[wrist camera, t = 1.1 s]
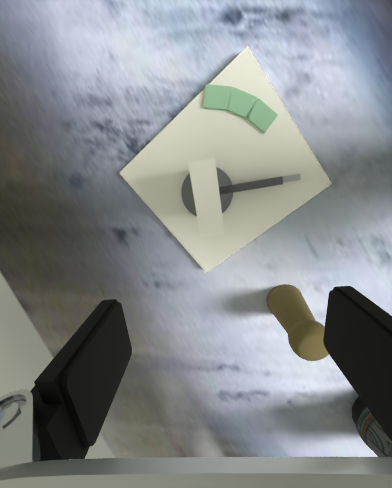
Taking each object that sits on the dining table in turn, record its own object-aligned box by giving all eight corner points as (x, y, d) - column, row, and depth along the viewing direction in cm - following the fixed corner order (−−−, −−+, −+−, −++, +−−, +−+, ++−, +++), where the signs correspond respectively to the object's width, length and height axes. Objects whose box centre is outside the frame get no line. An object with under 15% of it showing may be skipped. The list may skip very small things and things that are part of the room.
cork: (259, 297, 36) (281, 347, 25) (289, 278, 34) (326, 322, 24) (279, 320, 37) (307, 376, 26) (308, 302, 35) (351, 354, 25)
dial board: (244, 52, 25) (247, 42, 23) (325, 183, 29) (334, 184, 27) (122, 172, 30) (117, 172, 28) (206, 269, 34) (206, 274, 33)
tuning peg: (187, 220, 30) (177, 240, 20) (178, 170, 28) (162, 167, 18) (280, 205, 29) (318, 220, 19) (278, 152, 27) (319, 138, 17)
